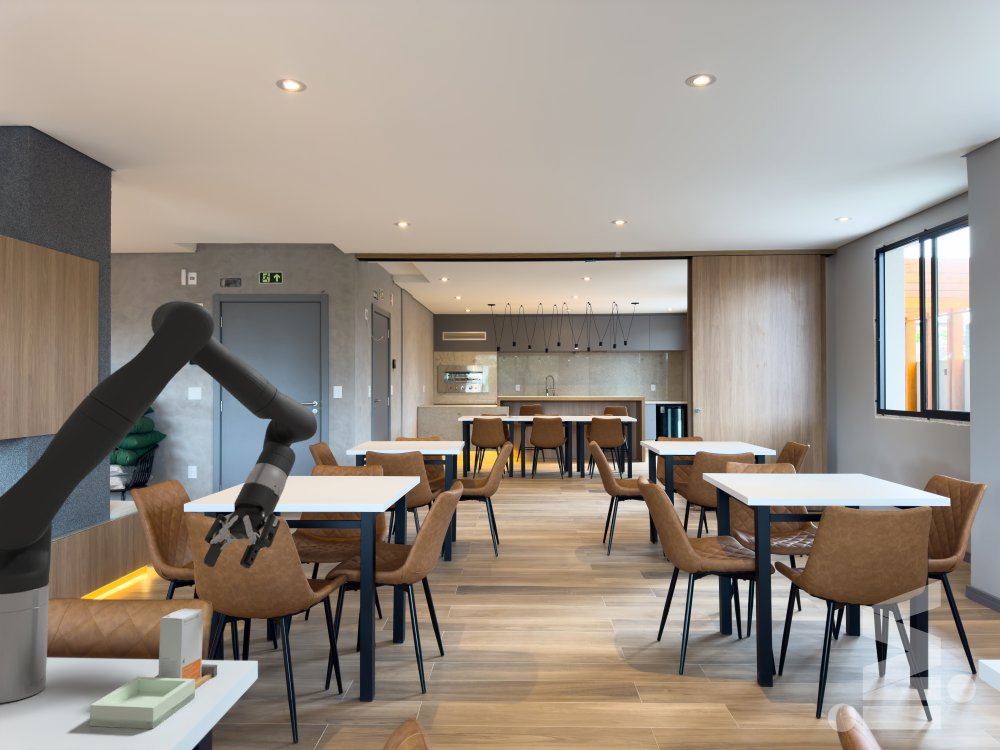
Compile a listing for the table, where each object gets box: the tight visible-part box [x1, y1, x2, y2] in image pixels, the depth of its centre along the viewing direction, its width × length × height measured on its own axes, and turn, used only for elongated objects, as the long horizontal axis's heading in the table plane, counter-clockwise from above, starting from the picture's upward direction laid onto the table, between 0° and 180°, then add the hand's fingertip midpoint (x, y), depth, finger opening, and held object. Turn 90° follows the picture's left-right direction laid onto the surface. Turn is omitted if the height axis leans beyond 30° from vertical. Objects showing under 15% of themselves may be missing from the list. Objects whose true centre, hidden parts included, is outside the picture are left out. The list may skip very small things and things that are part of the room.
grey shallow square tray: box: [155, 663, 218, 690], centre depth 116 cm, size 8×9×2 cm
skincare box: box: [157, 607, 204, 682], centre depth 117 cm, size 6×4×12 cm
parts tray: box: [89, 676, 196, 730], centre depth 106 cm, size 10×11×3 cm
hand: (226, 565), depth 126 cm, fingers open, 8 cm apart
